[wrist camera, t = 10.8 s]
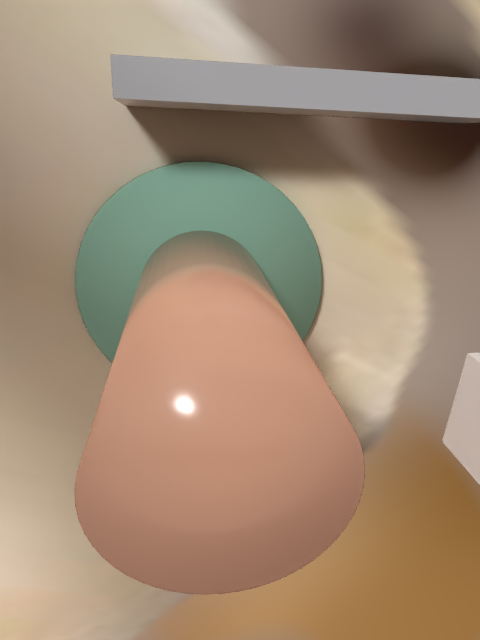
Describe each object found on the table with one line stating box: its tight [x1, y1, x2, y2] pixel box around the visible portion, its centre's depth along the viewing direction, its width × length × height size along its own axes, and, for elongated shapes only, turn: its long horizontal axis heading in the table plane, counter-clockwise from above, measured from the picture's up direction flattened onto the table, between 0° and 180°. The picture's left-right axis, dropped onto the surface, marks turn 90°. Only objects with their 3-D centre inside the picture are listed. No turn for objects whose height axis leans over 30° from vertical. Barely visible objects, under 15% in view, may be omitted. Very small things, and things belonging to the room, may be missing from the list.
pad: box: [75, 161, 322, 363], centre depth 19 cm, size 11×11×1 cm
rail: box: [110, 54, 480, 123], centre depth 15 cm, size 14×1×3 cm, turn 88°
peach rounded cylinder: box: [75, 231, 365, 594], centre depth 14 cm, size 6×6×12 cm
